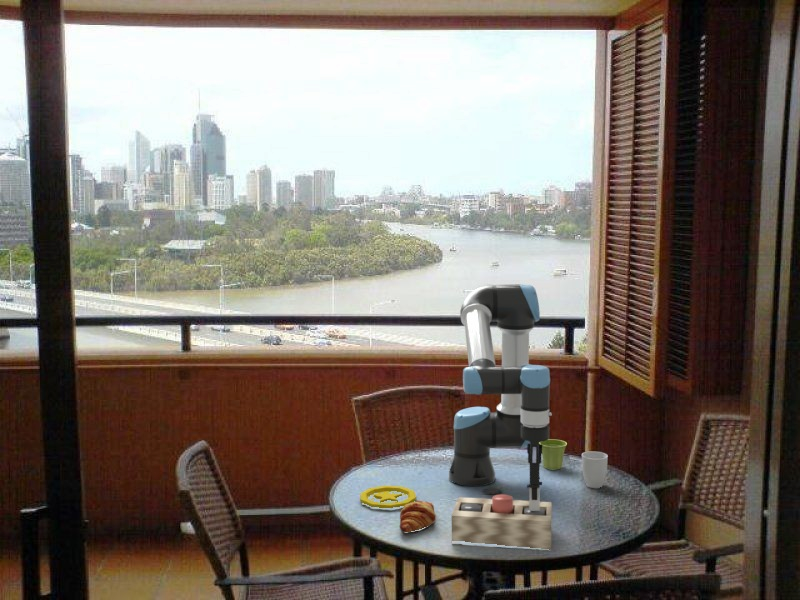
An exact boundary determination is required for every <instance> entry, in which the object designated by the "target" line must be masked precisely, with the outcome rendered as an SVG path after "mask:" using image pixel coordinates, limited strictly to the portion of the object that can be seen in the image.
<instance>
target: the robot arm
mask: <svg viewBox="0 0 800 600" xmlns="http://www.w3.org/2000/svg"><path fill="white" fill-rule="evenodd" d="M460 307H461V308H460V313H459V314H460V321H461V324H462V325H463V326H464V330H465V340H466V351H467V352H466V353H467V361H468V366H466V367H464V368H463V370H462V384H463V386H462V389H463V392H464V393H465V394H467V395H477V396H480V395H484V396H485V395H501V397H500V399H501V402H500V403H499V404H497V405H496V411H495V412H494V411H493V412H491V410H490V408H489V407H486V406H472V407H467V408H463V409H460V410H458V411H457V412H456V413H455V415H454V419H453V420H454V421H453V430H454V431H453V432H454V433H453V435H454V436H453V437H454V439H453V440H454V441H453V447H454V449H453V450H454V451H453V452H454V455H453V459H452V461H451V466H450V468H449V471H448V479H450V480H451V481H453V482H455V483H458V484H457V485H459V484H461V485H460V486H464V485H466V486H465V487H480V486H481V485H482V486H487V485H490V484H492V483H494V482H495V480H496V471H495V468H494V465H493V463H492V459H491V455H490V453H491V452H490V450H491V449H518V450H520V449H526V448H527V449H526V453H527V463H529V484H526V488H527V489H528V488H529V491H528V492H529V493H528V494H529V495H528V496H529V498H528V501H529V511H540V502H541V501H540V498H541V497H540V493H541V486H543V482H542V481H540V480H541V477H540V464H541V463H542V444H539V442H541V441H546V440H548V439H550V425H549V424H550V417H552V415H553V414H552V412H550V394H551V393H550V392H551V391H550V389H551V388H550V383H551V377H550V368H549V367H548V366H545V365H541V364H540V365H539V364H530V362H529V361H530V359H529V358H530V332H531V331H532V330H534V328H535V323H537V322H539V321H540V314H541V313H540V311H541V310H540V304H539V299H538V294H537V291H536V288H535V287H534V286H533V285H531V284H523V283H522V284H521V283H519V284H517V283H515V284H484V285H481V286H479V287H477V288H475V289H474V290H472V291H471V292H470V293H469V294H468V295H467V296H466V297H465V299H464V300H463V303H462V304H461V306H460ZM492 322H497V328H498V329H499V331H501V335H502V336H501V366H496V359H495V352H494V346H493V338H492V332H491V323H492ZM450 480H449V481H450ZM451 481H450V482H451ZM453 482H452V483H453ZM455 483H454V484H455ZM486 484H487V485H486ZM482 486H481V487H482Z"/></svg>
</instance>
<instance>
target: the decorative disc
mask: <svg viewBox="0 0 800 600" xmlns="http://www.w3.org/2000/svg"><path fill="white" fill-rule="evenodd" d="M391 491H397V492H401V493H404V494H403V495H406V494H407V495H408V499H406V500H404V501H401V502H398V500H397V499H396V498H397V497H399V496H402V494H397V493H396V494H390V493H389V492H391ZM374 493H378V494H374ZM381 493H383V494H381ZM392 493H394V492H392ZM370 495H374V496H373V497H375V498H376V499H381V500H380V503H378V502H374V501H371V500H369V499H368V497H370ZM371 499H374V498H371ZM387 500H391V501H397V502H395V503H381V502H384V501H387ZM414 501H417V496H416V492H415V490H413V489H410V488H408V487H405V486H400V485H398V486H397V485H380V486H374V487H369V488H368V489H366V490H364V491H362V492H361V493H360V503H361V502H362V503H364V504H367V505H369V506H371V507H379V508H393V507H400V506H405V505H406V504H409V503H412V502H414Z"/></svg>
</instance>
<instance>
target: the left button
mask: <svg viewBox="0 0 800 600" xmlns="http://www.w3.org/2000/svg"><path fill="white" fill-rule="evenodd" d="M461 511H473V512H481V506H480V505H478V504H472V503H469V504H464V505H462V506H461Z"/></svg>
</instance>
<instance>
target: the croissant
mask: <svg viewBox="0 0 800 600" xmlns="http://www.w3.org/2000/svg"><path fill="white" fill-rule="evenodd" d="M400 510H401V511H400V514H399V519H400V520H399V530H400V531H403V532H402V533H404V532H411V531H415V530H419V529H422V528H424V527H427V526H429V525H430V524H431V525H432V524H434V523H435V521H436V518H437V515H436V513H435V505H434V504H433V502H429V501H423V500H416V502H412V503H409V504H406V505H405V506H404V507H403V509H400ZM431 525H430V526H431ZM430 526H429V527H430ZM427 528H428V527H427Z"/></svg>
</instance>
